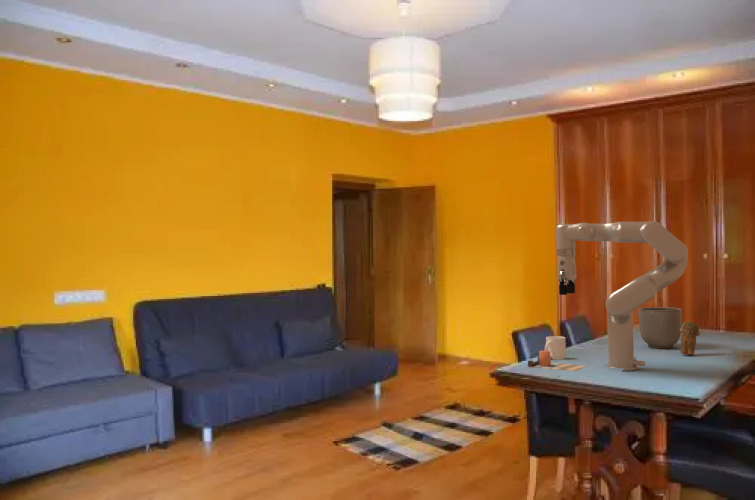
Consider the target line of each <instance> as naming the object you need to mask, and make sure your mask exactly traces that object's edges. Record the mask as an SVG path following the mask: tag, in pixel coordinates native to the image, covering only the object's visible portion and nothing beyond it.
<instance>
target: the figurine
mask: <svg viewBox="0 0 755 500" xmlns="http://www.w3.org/2000/svg"><path fill="white" fill-rule="evenodd" d="M680 331H681V335H680V351H679V352H680V353H681V354H683V355H689V356H693V355H695V351H696V344H697V337H698V336H700V335H701V332H700V329H699V326H698V324H697V323H695V322H693V321H691V320H688V321H685V322H682V326H681V328H680Z"/></svg>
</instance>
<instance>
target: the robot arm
mask: <svg viewBox="0 0 755 500" xmlns="http://www.w3.org/2000/svg"><path fill="white" fill-rule="evenodd" d="M555 235H556V236H555V238H556V257H557V258H558V261H557V278H558V294H559V295H560V296H564V295H565V296H566V295H567V296H568V294H575V293H576V281H575V280H577V278H578V277H577V266H576V263H577V262H576V258H575V257H576V241H582V242H612V243H622V244H623V243H624V244H625V243H634V244H635V243H637V244H638V243H639V244H640V243H641V244H642V243H643V244H648V245H649V246H650V247H652V248H653V249H654V250H655V251H657V253H658V254H659V255H661V256H662V257H663V258H664V259H663V261H662V262H661V263H660V264H659V265H657V266H656V267H654V268H653V269H651V270H649V271H648V272H646V273H645V274H642V275H640V276H637V277H636V278H634V279H633V280H632V281H630V282H628V283H626V284H625V285H623V286H622V287H620V288H618V289H617V290H614V291H613V292H611V293H610V294H609V295H608V296H607V297H606V300H605V308H606V310H607V343H608V346H607V347H608V363H607V364H605V365H604V366H605V367H608V368H612V369H613V368H615V369H623V370H622V371H621V372H628V371H629V372H630V371H631V372H633V371H637V370H639V367H641V366H642V367H646V361H645V360H638V359H637V357H636V356H635V355H634V354H635V353H634V352H635V351H634V324H633V323H634V320H633V318H634V317H633V315H634V314H633V313H634V312H633V311H635V310H636V309H637V308H640V307H641V306H643V304H646V303H647V302H649V301H651V300H652V299H653V298H655V295H657V293H659V292H660V291H662V290H664V289H666V288H668V286H670V285H672V284H673V283H675V282H676V281H677V280H678V279H680V277H681V276H682V275H683V274H684V272H685V270H686V269H687V267H688V261H689V260H688V258H689V257H688V254H689V251H688V250H689V249H688V247H687V245H686V244H685V243H684V242H682V241H681V240H680V239H679V238H678V237H676V236H675V235H674V234H673V233H671V232H670V231H669V230H668V229H667V228H666V227H665V226H663V224H661V223H660V222H658V221H656V220H649V221H616V222H611V223H588V222H580V223H574V224H573V223H563V224H562V223H561V224H558V225H556V228H555Z"/></svg>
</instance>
